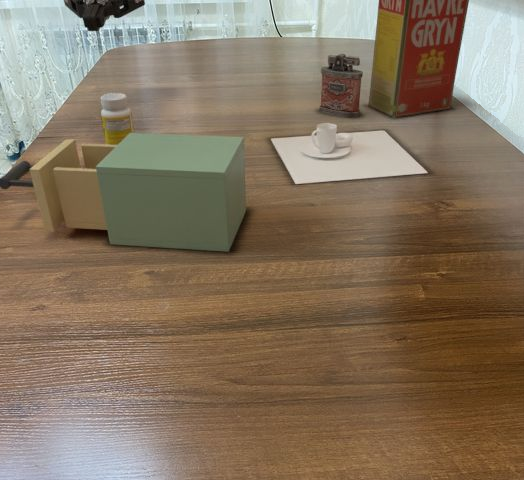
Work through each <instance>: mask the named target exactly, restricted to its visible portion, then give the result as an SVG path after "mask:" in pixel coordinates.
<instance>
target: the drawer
mask: <svg viewBox="0 0 524 480" xmlns="http://www.w3.org/2000/svg"><path fill="white" fill-rule="evenodd" d="M76 142H77V141H76V139H75V138H73V139H71V138H66V139H65V140H63V141H62V142H61V143H60V144H59V145H57V146H56V147H55V148H53V149H52V150H51V151H50V152H49V153H47V154H46V155H45V156H44V157H42V158H41V159H40V160H38V161H37V163H35V164H31V163H30V162H29V161H27V160H22V161H21V162H20V163H18V164H17V165H15V166H14V167H13V168H11V169H10V170H9V171H8V172H6V173H5V174H4V175H2V176H1V177H0V188H1V189H2V190H8V189H9V188H11V187H23V188H33V189H34V191H35V192H34V193H35V196H36V201H37V205H38V208H39V212H40V217H41V219H42V224H43V227H44V231H45V232H50V233H51V232H53V233H54V232H55V231H57V229H59V227H60V226H61V225H62V224H63V223H64V225H65V227H66V228H70V229H84V230H102V231H108V230H107V225H106V219H105V214H104V209H103V203H102V198H101V193H100V187H99V182H98V176H97V171H96V166H97V165H98V164H99V163H100V162H101V161H102V160H103V159H104V158H105V157H106V156H107V155H108V154H109V153H110V152H111V151H112V150H113V149H114V148H115V147H116V146H117V145H111V144H106V143H87V142H85V143H84V142H83V143H82V144H81V145H80V147H81V153H82V157H83V158H82V159H83V164H84V168H83V167H81V166H82V165H81V162H80V158H79V151H78V148H77V143H76ZM28 173H30V177H31V180H25V179H22V178H23V177H24V176H25V175H26V174H28Z"/></svg>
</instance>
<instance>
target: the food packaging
mask: <svg viewBox="0 0 524 480" xmlns="http://www.w3.org/2000/svg"><path fill="white" fill-rule="evenodd" d="M469 3H470V0H378V4H377V5H378V6H377V17H376V26H375V27H376V28H375V36H374V48H373V56H372V57H373V59H372V68H371V77H370V86H369V87H370V88H369V97H368V105H367V106H368V107H370V108H372V109H374V110H376V111H379V112H381V113H382V114H385V115H386V116H389V117H391V118H393V119H396V118H402V117H409V116H415V115H421V114H427V113H433V112H439V111H445V110H451V105H452V101H453V94H454V87H455V81H456V75H457V70H458V63H459V59H460V53H461V48H462V42H463V36H464V30H465V25H466V19H467V14H468V8H469Z"/></svg>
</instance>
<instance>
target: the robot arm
mask: <svg viewBox="0 0 524 480" xmlns="http://www.w3.org/2000/svg"><path fill="white" fill-rule="evenodd" d="M63 3H64V6H65V7H67V9H69V10H70V11H71V12H72V13H73V14H74V15H76V17H78V18H79V19H82V21H83V22H82V23H83V26H84V28H87V31H88V32H99V31H100V29H101V28H103V27H104V26H105V24H106V22H107V21H108V20H109V19H110V18H111V16H113V18H114V19H120V18H122V17H124V16H126V15H128V14H130V13H132V12H134V11H135V10H138V9H139V8H141V7H144V6H145V5H146V2H145V0H63Z"/></svg>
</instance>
